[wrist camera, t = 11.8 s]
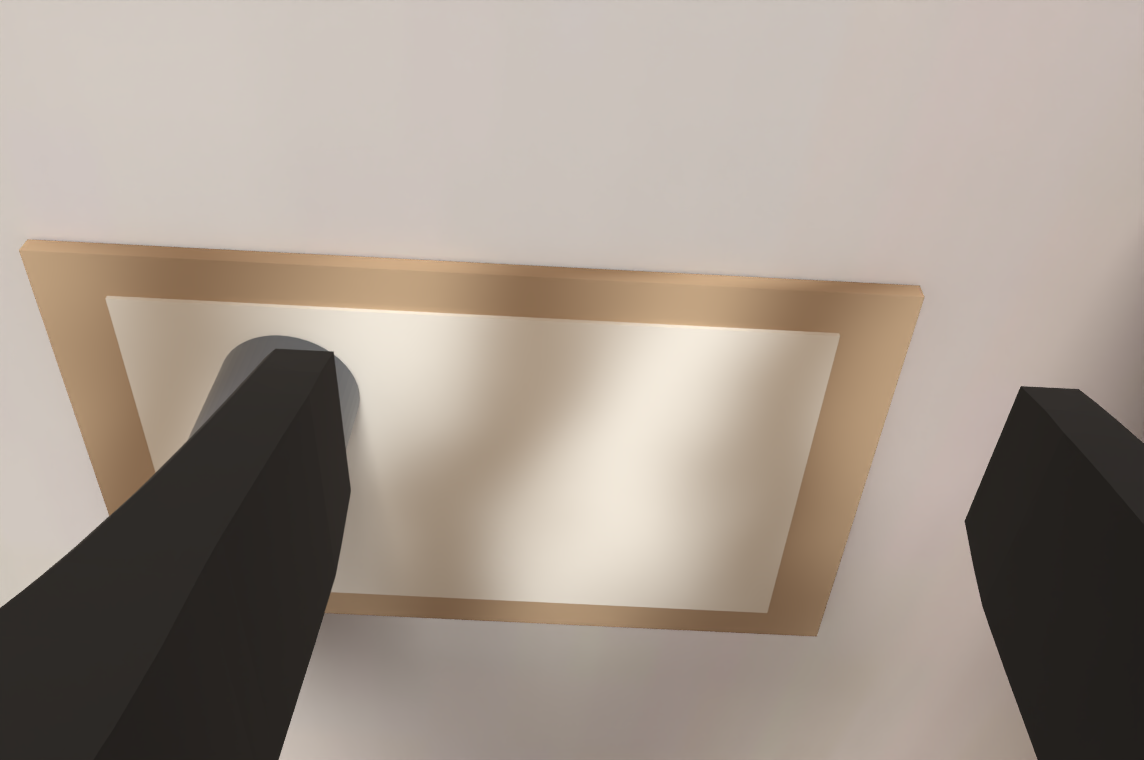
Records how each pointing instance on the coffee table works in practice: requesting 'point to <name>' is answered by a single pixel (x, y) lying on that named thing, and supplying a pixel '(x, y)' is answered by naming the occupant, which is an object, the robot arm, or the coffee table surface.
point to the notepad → (520, 421)
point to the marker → (252, 355)
